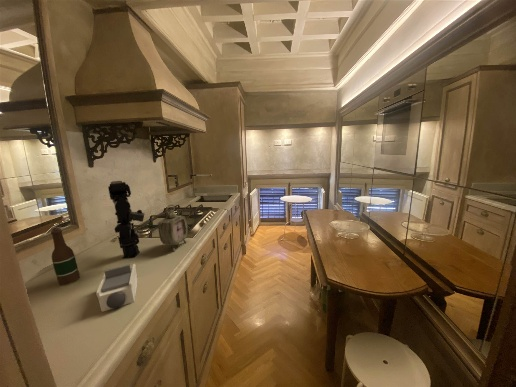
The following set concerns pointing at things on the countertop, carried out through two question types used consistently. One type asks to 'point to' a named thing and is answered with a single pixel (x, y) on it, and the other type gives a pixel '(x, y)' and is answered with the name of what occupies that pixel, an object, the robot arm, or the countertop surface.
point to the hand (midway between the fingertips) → (128, 239)
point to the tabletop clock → (173, 229)
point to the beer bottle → (63, 260)
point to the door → (117, 277)
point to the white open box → (118, 293)
